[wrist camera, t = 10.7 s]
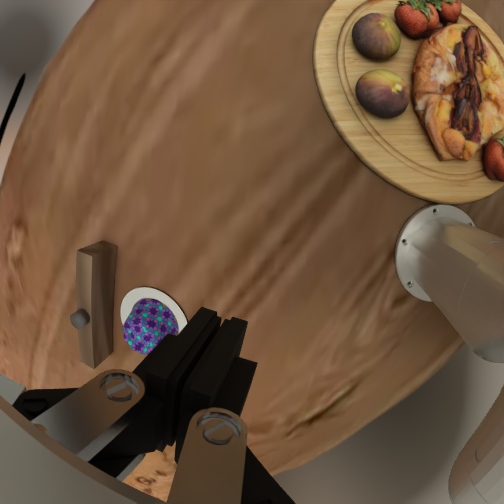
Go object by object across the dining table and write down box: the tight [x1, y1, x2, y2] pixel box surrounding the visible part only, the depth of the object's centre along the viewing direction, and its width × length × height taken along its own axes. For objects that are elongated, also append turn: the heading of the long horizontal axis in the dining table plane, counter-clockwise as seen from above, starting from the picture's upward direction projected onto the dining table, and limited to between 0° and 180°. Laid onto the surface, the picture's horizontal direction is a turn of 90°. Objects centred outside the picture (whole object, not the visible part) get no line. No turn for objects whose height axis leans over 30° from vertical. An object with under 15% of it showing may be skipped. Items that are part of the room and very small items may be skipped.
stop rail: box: [70, 241, 117, 369], centre depth 40 cm, size 3×20×8 cm, turn 166°
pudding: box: [121, 287, 187, 354], centre depth 41 cm, size 12×12×5 cm
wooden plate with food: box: [313, 0, 504, 204], centre depth 24 cm, size 32×32×8 cm
